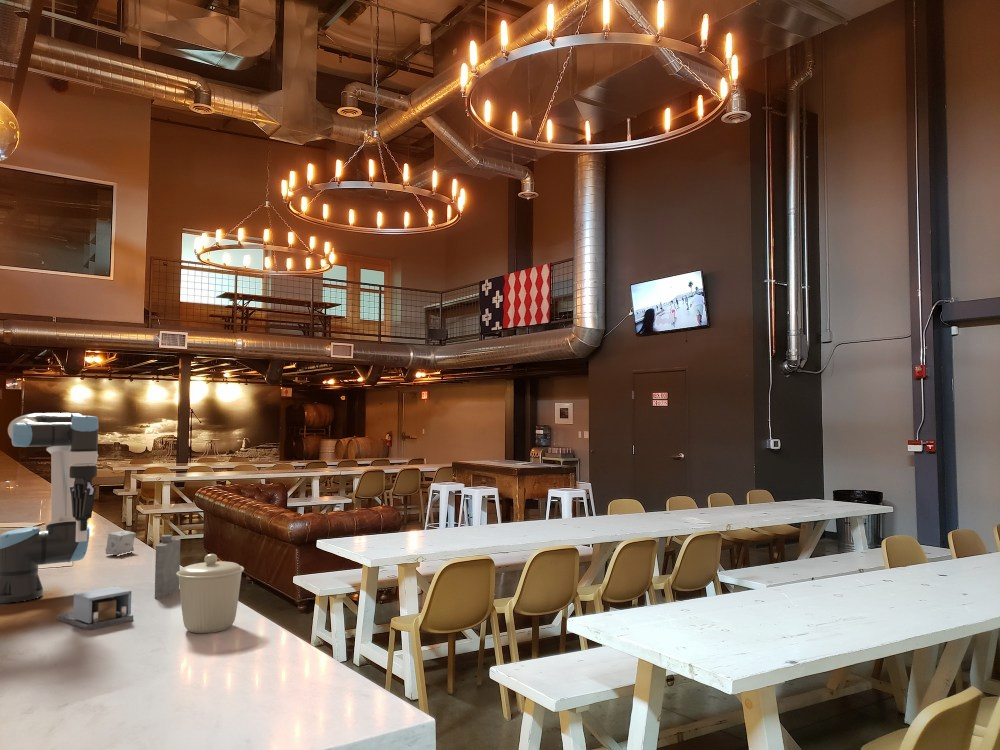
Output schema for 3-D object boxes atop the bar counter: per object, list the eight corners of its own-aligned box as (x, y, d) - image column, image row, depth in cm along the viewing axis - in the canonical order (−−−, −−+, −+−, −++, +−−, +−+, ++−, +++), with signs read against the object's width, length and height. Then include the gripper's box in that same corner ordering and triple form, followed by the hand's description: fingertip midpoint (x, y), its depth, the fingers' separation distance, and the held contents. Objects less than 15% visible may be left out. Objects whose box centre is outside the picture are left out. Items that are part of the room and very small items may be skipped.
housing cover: (73, 617, 214) (73, 593, 214) (114, 609, 223) (115, 586, 224) (88, 623, 208) (89, 598, 208) (130, 614, 217) (131, 590, 218)
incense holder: (119, 557, 325) (120, 533, 326) (104, 556, 327) (105, 533, 328) (136, 553, 334) (137, 530, 335) (121, 552, 337) (122, 530, 337)
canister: (177, 641, 196) (179, 562, 197) (172, 625, 212) (174, 552, 213) (247, 632, 204) (248, 556, 205) (238, 617, 220) (239, 546, 221)
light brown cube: (98, 620, 212) (98, 603, 212) (90, 618, 215) (91, 600, 215) (115, 617, 216) (116, 599, 216) (108, 614, 219) (108, 597, 219)
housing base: (57, 619, 219) (57, 604, 219) (102, 610, 229) (102, 596, 230) (87, 630, 207) (87, 614, 207) (133, 620, 217) (133, 605, 218)
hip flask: (162, 598, 245) (164, 538, 247) (150, 598, 245) (151, 538, 246) (180, 588, 261) (181, 531, 262) (169, 588, 261) (170, 531, 262)
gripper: (105, 465, 227) (103, 541, 225) (86, 464, 235) (84, 537, 233) (80, 466, 221) (77, 544, 219) (61, 465, 229) (59, 540, 227)
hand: (81, 541), depth 226 cm, fingers closed
